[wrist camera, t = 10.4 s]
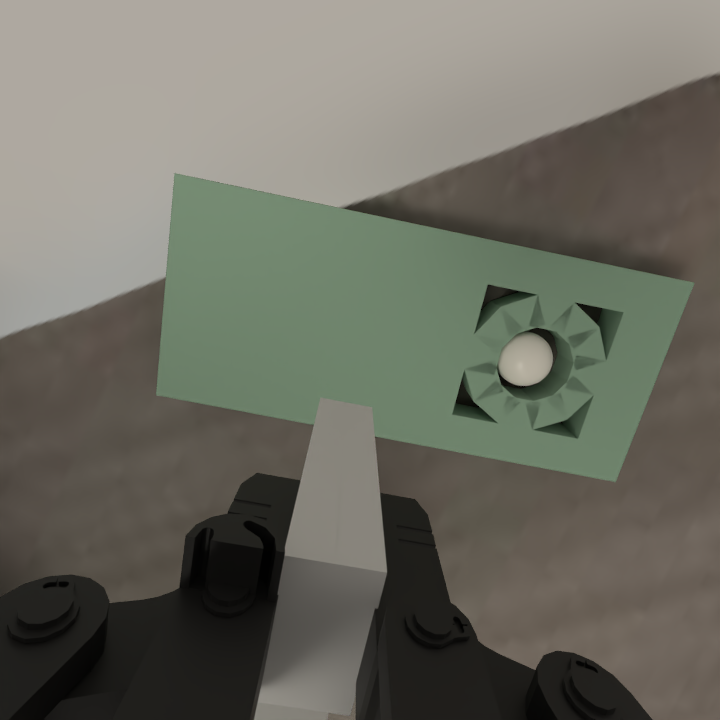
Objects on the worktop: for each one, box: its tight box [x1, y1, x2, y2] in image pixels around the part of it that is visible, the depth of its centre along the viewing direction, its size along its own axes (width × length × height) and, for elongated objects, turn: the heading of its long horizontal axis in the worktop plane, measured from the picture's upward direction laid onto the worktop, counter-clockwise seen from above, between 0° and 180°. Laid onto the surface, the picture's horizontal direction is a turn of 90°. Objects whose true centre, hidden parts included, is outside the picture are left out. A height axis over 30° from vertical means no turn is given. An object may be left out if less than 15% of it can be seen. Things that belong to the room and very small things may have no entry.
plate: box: [156, 174, 694, 482], centre depth 30 cm, size 32×14×2 cm, turn 79°
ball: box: [496, 332, 553, 386], centre depth 29 cm, size 4×4×4 cm
